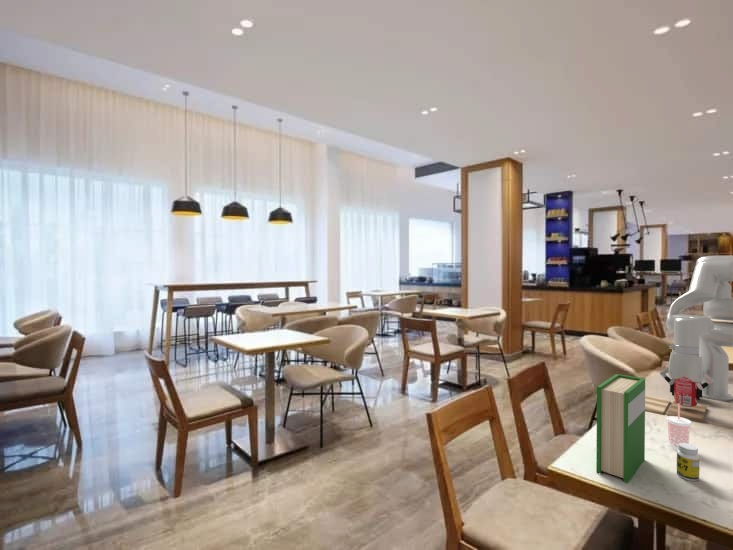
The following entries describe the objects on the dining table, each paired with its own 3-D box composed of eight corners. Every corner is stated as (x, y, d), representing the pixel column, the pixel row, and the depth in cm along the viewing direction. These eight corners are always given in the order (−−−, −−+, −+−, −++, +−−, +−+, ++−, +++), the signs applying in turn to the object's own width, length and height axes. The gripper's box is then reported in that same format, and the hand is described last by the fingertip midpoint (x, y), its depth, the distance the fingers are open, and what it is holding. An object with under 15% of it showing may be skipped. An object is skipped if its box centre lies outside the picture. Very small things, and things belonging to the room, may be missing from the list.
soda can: (688, 401, 153) (689, 371, 153) (702, 408, 146) (702, 376, 146) (669, 401, 154) (669, 370, 153) (681, 408, 147) (682, 376, 146)
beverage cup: (684, 454, 118) (685, 408, 118) (661, 446, 124) (662, 402, 123) (695, 450, 121) (695, 405, 121) (672, 442, 127) (672, 399, 126)
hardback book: (627, 483, 104) (628, 392, 103) (596, 472, 109) (596, 386, 108) (644, 459, 116) (645, 378, 115) (615, 451, 121) (616, 373, 120)
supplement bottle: (672, 472, 109) (672, 442, 108) (687, 471, 109) (688, 441, 109) (687, 482, 104) (688, 450, 104) (704, 481, 104) (704, 449, 104)
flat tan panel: (644, 398, 166) (644, 395, 166) (672, 404, 160) (672, 400, 160) (635, 410, 154) (635, 406, 153) (665, 417, 147) (665, 413, 147)
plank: (674, 404, 159) (673, 400, 159) (706, 409, 152) (706, 405, 152) (667, 417, 146) (667, 413, 146) (702, 423, 140) (702, 419, 140)
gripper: (656, 348, 153) (656, 394, 153) (716, 355, 140) (715, 405, 141) (659, 345, 158) (659, 389, 158) (717, 351, 146) (716, 399, 146)
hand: (685, 396), depth 150 cm, fingers closed on soda can, 6 cm apart
